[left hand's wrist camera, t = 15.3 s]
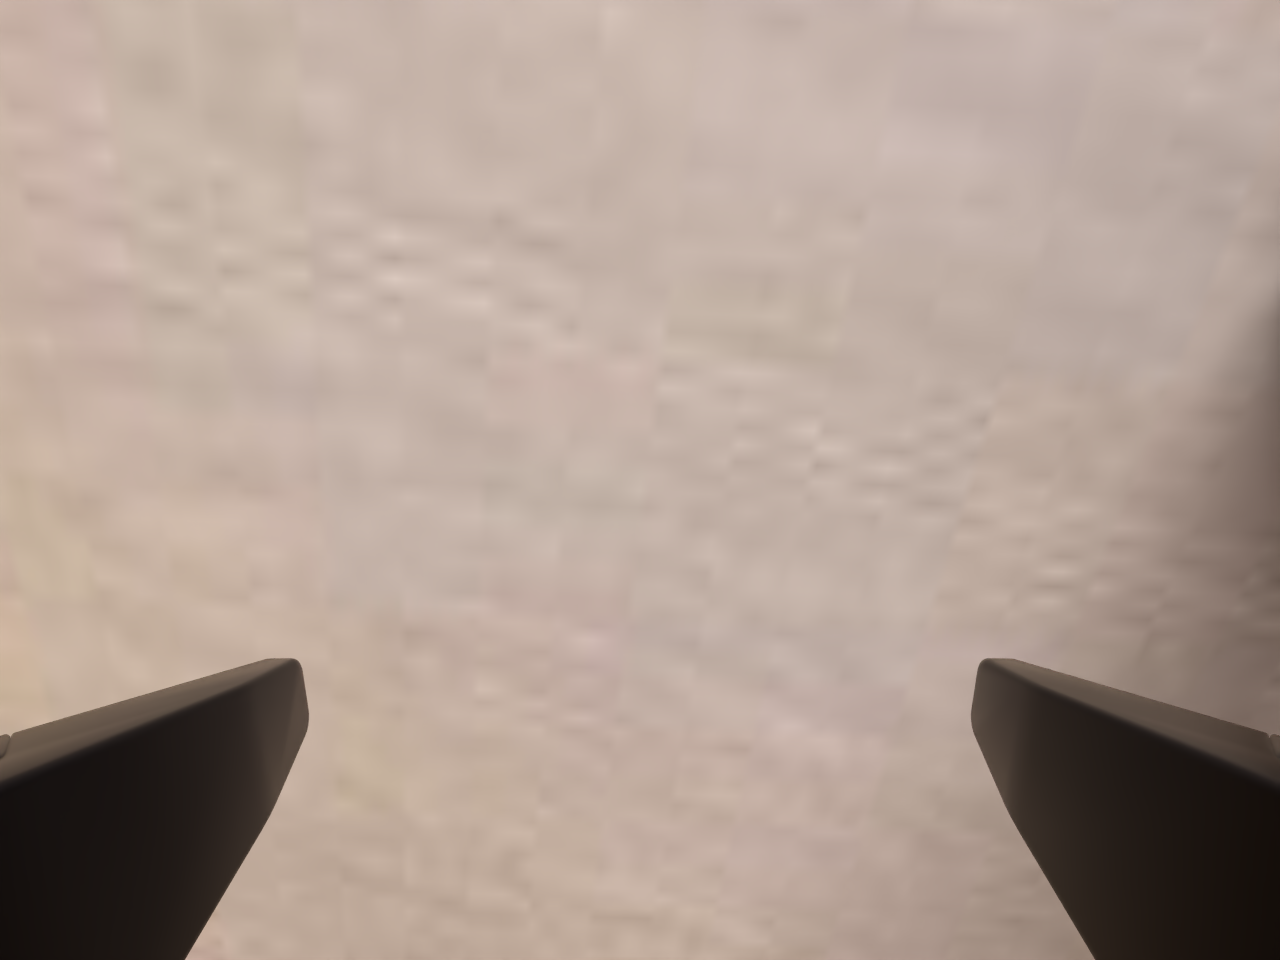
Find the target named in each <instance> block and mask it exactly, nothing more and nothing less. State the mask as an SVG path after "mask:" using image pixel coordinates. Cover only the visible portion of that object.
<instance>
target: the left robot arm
mask: <svg viewBox="0 0 1280 960" xmlns="http://www.w3.org/2000/svg"><path fill="white" fill-rule="evenodd" d="M308 722H309V710H308V703H307V697H306V690H305V684H304V677H303V671H302V667H301V665H300V663H299V662H298V661H297V660H296V659H292V658H277V659H265V660H261V661H258V662H254V663H251V664H248V665H244V666H241V667H237V668H234V669H230V670H227V671H224V672H220V673H217V674H213V675H210V676H207V677H203V678H200V679H196V680H193V681H189V682H186V683H183V684H179V685H176V686H172V687H169V688H166V689H162V690H159V691H155V692H152V693H149V694H145V695H142V696H138V697H135V698H131V699H128V700H125V701H121V702H118V703H114V704H111V705H108V706H104V707H101V708H97V709H94V710H90V711H87V712H84V713H80V714H77V715H73V716H70V717H67V718H63V719H60V720H56V721H53V722H50V723H46V724H43V725H39V726H36V727H32V728H29V729H26V730H22V731H19V732H15V733H13V734H12V736H11V738H10V736H9V735H7V734H5V735H1V736H0V960H185V959H186V957H187V955H188V953H189V952H190V950H191V948H192V947H193V945H194V943H195V942H196V940H197V938H198V937H199V935H200V933H201V932H202V930H203V928H204V927H205V925H206V923H207V921H208V920H209V918H210V916H211V915H212V913H213V911H214V910H215V908H216V906H217V905H218V903H219V901H220V900H221V898H222V896H223V895H224V893H225V891H226V889H227V888H228V886H229V884H230V883H231V881H232V879H233V878H234V876H235V874H236V873H237V871H238V869H239V868H240V866H241V864H242V863H243V861H244V859H245V857H246V856H247V854H248V852H249V851H250V849H251V847H252V846H253V844H254V842H255V841H256V839H257V837H258V836H259V834H260V832H261V831H262V829H263V827H264V825H265V823H266V822H267V820H268V818H269V816H270V814H271V812H272V810H273V808H274V806H275V804H276V802H277V799H278V797H279V795H280V793H281V790H282V788H283V786H284V783H285V781H286V779H287V776H288V774H289V772H290V769H291V767H292V765H293V763H294V760H295V758H296V756H297V753H298V751H299V749H300V746H301V744H302V742H303V739H304V737H305V735H306V732H307V728H308ZM971 722H972V728H973V732H974V735H975V737H976V739H977V742H978V744H979V746H980V749H981V751H982V753H983V756H984V758H985V760H986V763H987V765H988V767H989V769H990V772H991V774H992V776H993V779H994V781H995V783H996V786H997V788H998V790H999V793H1000V795H1001V797H1002V799H1003V802H1004V804H1005V806H1006V808H1007V810H1008V812H1009V814H1010V816H1011V818H1012V820H1013V822H1014V823H1015V825H1016V827H1017V829H1018V831H1019V832H1020V834H1021V836H1022V837H1023V839H1024V841H1025V842H1026V844H1027V846H1028V847H1029V849H1030V851H1031V852H1032V854H1033V856H1034V857H1035V859H1036V861H1037V863H1038V864H1039V866H1040V868H1041V869H1042V871H1043V873H1044V874H1045V876H1046V878H1047V879H1048V881H1049V883H1050V884H1051V886H1052V888H1053V889H1054V891H1055V893H1056V895H1057V896H1058V898H1059V900H1060V901H1061V903H1062V905H1063V906H1064V908H1065V910H1066V911H1067V913H1068V915H1069V916H1070V918H1071V920H1072V921H1073V923H1074V925H1075V927H1076V928H1077V930H1078V932H1079V933H1080V935H1081V937H1082V938H1083V940H1084V942H1085V943H1086V945H1087V947H1088V948H1089V950H1090V952H1091V953H1092V955H1093V957H1094V959H1095V960H1280V736H1279V735H1275V734H1273V735H1271V736H1270V738H1269V736H1268V734H1267V733H1265V732H1261V731H1258V730H1254V729H1251V728H1248V727H1244V726H1241V725H1237V724H1234V723H1230V722H1227V721H1224V720H1220V719H1217V718H1213V717H1210V716H1207V715H1203V714H1200V713H1196V712H1193V711H1190V710H1186V709H1183V708H1179V707H1176V706H1172V705H1169V704H1166V703H1162V702H1159V701H1155V700H1152V699H1149V698H1145V697H1142V696H1138V695H1135V694H1131V693H1128V692H1125V691H1121V690H1118V689H1114V688H1111V687H1108V686H1104V685H1101V684H1097V683H1094V682H1091V681H1087V680H1084V679H1080V678H1077V677H1073V676H1070V675H1067V674H1063V673H1060V672H1056V671H1053V670H1050V669H1046V668H1043V667H1039V666H1036V665H1032V664H1029V663H1026V662H1022V661H1019V660H1015V659H1003V658H988V659H984V660H983V661H982V662H981V663H980V665H979V667H978V671H977V677H976V684H975V690H974V697H973V703H972V710H971Z"/></svg>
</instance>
